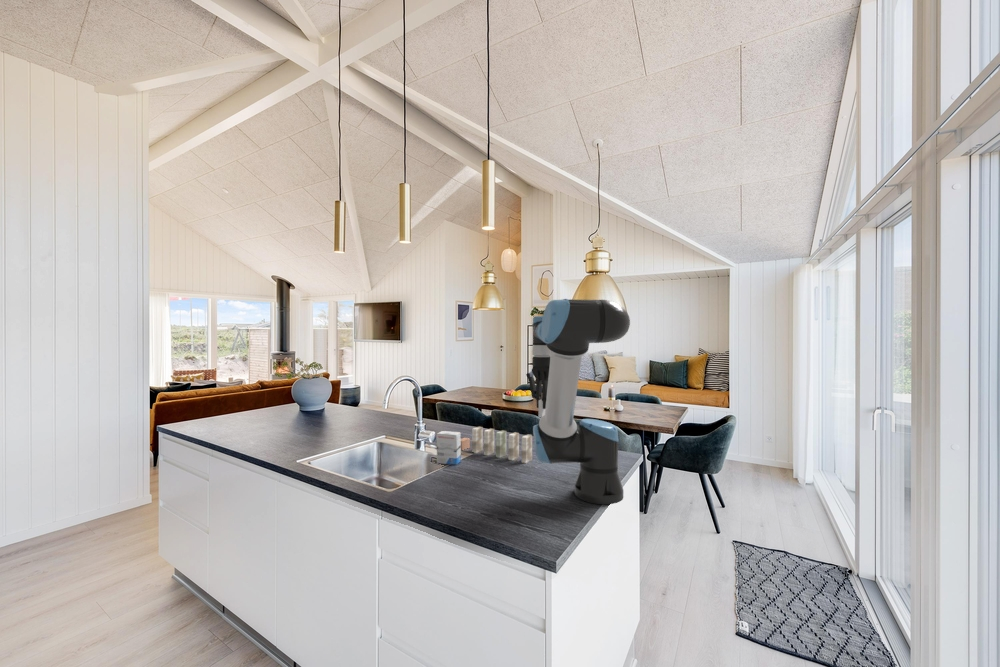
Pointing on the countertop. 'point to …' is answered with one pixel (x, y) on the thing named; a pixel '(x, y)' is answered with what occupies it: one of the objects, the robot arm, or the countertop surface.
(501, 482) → the countertop surface
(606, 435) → the robot arm
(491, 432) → the domino
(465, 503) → the countertop surface
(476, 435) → the domino
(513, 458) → the domino
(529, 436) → the domino
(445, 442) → the ink box
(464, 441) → the end stop
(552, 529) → the countertop surface
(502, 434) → the domino
